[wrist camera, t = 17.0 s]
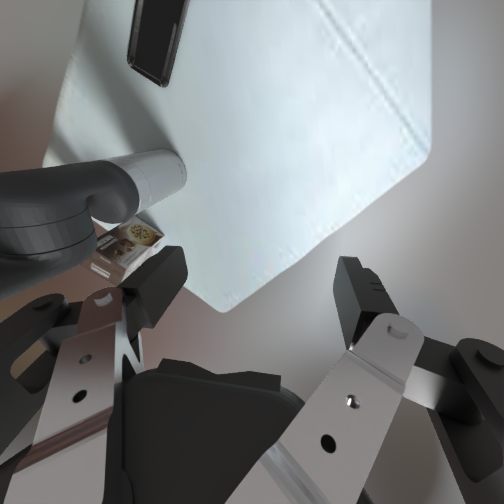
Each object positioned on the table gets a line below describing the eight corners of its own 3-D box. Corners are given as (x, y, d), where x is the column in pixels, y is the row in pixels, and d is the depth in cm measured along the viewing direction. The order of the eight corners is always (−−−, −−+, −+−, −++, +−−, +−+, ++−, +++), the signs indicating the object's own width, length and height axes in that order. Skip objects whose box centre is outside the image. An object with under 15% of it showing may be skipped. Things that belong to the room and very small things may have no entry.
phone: (125, 64, 39) (144, -55, 31) (130, 65, 40) (149, -49, 32) (165, 89, 40) (192, -20, 32) (168, 90, 41) (195, -16, 33)
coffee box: (127, 231, 59) (77, 264, 45) (135, 214, 56) (83, 243, 42) (157, 251, 61) (116, 287, 47) (165, 235, 58) (125, 269, 44)
